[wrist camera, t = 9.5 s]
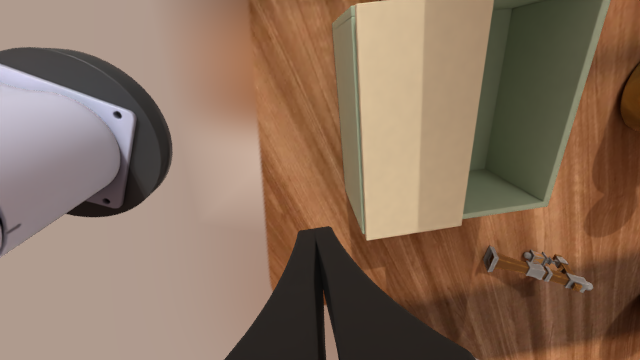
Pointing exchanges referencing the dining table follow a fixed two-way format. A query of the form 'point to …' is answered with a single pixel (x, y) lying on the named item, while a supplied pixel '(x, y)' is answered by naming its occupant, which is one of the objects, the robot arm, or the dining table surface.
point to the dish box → (499, 101)
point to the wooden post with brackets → (537, 268)
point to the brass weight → (632, 101)
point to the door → (418, 109)
